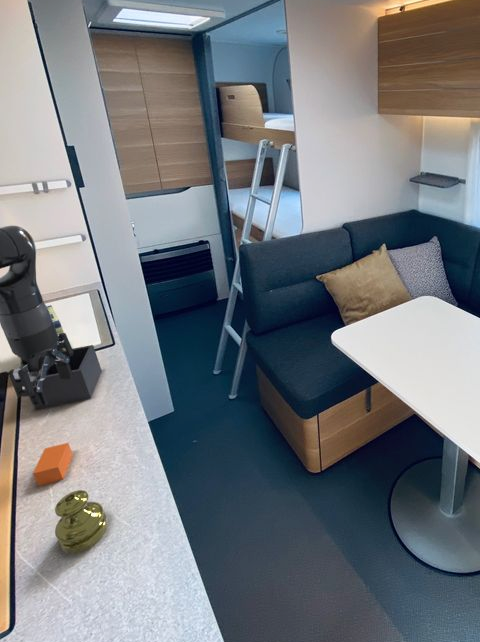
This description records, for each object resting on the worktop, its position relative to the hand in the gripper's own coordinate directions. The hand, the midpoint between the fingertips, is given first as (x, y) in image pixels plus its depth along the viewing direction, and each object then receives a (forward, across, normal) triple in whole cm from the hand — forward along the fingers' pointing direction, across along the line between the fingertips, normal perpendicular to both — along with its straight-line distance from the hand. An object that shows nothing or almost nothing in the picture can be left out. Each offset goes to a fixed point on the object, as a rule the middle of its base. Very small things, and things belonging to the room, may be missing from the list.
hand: (54, 391), depth 87 cm
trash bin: (+18, -24, -15) cm, 34 cm away
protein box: (+19, -39, -30) cm, 52 cm away
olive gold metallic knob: (+19, +20, +12) cm, 30 cm away
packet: (+19, +4, -3) cm, 19 cm away
